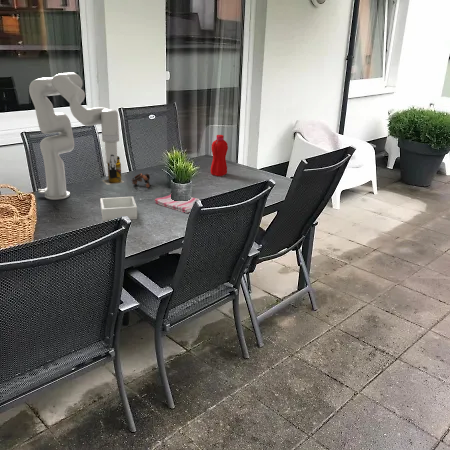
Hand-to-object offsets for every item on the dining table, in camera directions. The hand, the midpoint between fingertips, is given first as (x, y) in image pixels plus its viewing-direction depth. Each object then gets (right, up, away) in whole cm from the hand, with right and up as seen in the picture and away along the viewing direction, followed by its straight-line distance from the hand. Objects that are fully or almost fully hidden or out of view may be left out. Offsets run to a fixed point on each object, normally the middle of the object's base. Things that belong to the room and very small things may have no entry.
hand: (112, 175), depth 221 cm
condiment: (0, -3, +1) cm, 3 cm away
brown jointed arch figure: (+5, -1, +50) cm, 50 cm away
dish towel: (+30, -13, +25) cm, 41 cm away
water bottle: (+48, +8, +75) cm, 90 cm away
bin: (+1, -18, +8) cm, 20 cm away
